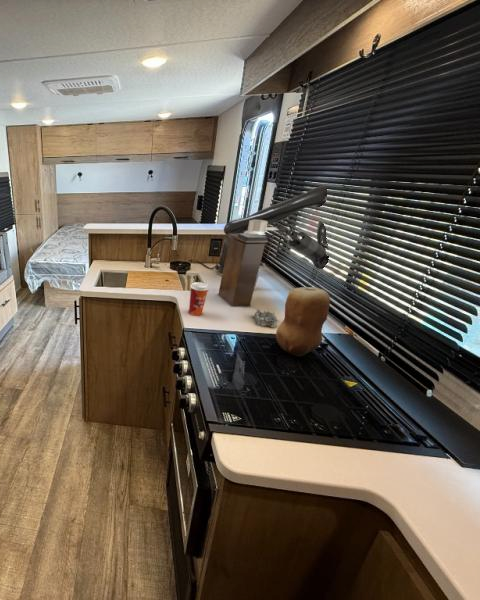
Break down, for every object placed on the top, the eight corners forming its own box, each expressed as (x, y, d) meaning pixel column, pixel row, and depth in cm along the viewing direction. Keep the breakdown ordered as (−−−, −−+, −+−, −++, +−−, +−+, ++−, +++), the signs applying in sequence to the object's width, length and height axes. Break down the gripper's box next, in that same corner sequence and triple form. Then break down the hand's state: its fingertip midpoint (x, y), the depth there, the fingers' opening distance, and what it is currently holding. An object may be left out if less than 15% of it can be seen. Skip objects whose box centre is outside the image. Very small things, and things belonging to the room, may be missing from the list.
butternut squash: (274, 339, 120) (291, 278, 109) (316, 350, 112) (338, 286, 102) (269, 355, 109) (288, 290, 99) (315, 368, 102) (340, 300, 92)
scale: (237, 237, 141) (238, 233, 141) (258, 236, 142) (259, 233, 141) (246, 240, 134) (247, 237, 133) (269, 240, 134) (270, 236, 134)
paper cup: (195, 318, 136) (200, 289, 131) (183, 311, 142) (187, 283, 137) (208, 314, 139) (213, 285, 134) (195, 308, 146) (199, 280, 140)
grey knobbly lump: (252, 315, 139) (254, 307, 137) (271, 317, 136) (274, 309, 135) (257, 325, 129) (259, 317, 128) (277, 328, 127) (279, 319, 125)
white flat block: (292, 231, 134) (295, 221, 132) (253, 231, 133) (255, 222, 131) (282, 228, 140) (284, 219, 138) (244, 228, 139) (246, 219, 138)
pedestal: (216, 294, 161) (228, 233, 149) (235, 293, 162) (248, 233, 149) (231, 306, 147) (245, 240, 134) (251, 306, 147) (268, 240, 134)
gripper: (299, 233, 145) (272, 215, 141) (321, 240, 132) (293, 220, 128) (287, 247, 147) (261, 229, 143) (308, 254, 135) (280, 235, 131)
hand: (276, 225), depth 136 cm, fingers closed on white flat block, 2 cm apart
